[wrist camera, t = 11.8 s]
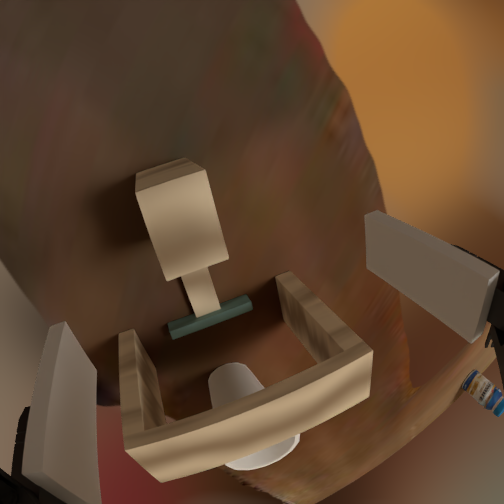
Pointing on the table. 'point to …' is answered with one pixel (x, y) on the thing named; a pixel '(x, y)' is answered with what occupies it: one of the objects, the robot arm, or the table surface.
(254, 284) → the table surface
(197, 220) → the squeegee
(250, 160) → the table surface
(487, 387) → the beverage bottle
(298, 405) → the shelf
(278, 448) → the foam cup
